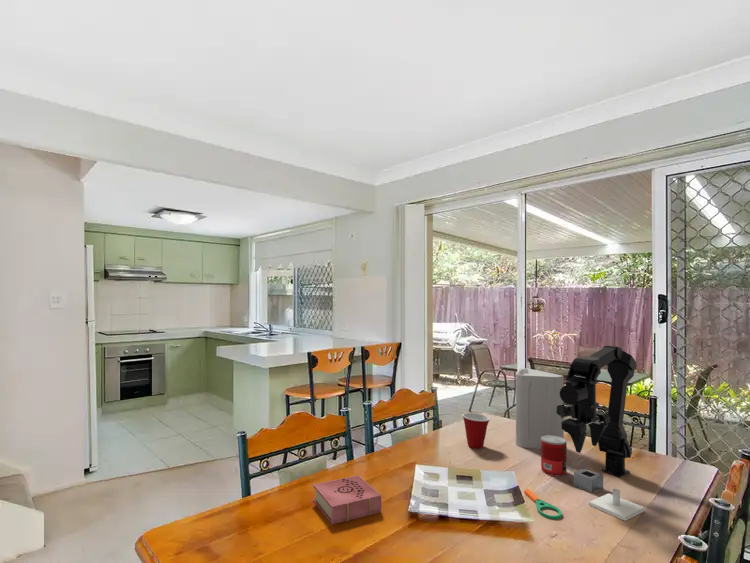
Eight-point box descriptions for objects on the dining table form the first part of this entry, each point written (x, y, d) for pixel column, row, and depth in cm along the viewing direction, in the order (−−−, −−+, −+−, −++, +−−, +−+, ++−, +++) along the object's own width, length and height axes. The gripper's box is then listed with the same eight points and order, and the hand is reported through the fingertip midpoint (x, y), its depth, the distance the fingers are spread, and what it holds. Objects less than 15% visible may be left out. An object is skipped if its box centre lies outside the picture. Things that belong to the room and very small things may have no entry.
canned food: (568, 477, 143) (568, 443, 143) (543, 475, 145) (543, 441, 145) (563, 468, 150) (563, 436, 151) (539, 466, 152) (539, 434, 152)
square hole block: (584, 481, 140) (584, 468, 140) (603, 488, 135) (603, 475, 135) (573, 485, 137) (573, 472, 137) (592, 493, 132) (592, 479, 132)
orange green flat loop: (566, 520, 117) (566, 513, 117) (546, 521, 116) (546, 515, 116) (536, 494, 132) (536, 488, 132) (517, 495, 131) (517, 489, 131)
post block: (608, 496, 130) (608, 479, 130) (644, 511, 121) (644, 492, 121) (589, 505, 124) (589, 487, 124) (625, 521, 116) (625, 501, 116)
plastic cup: (496, 449, 168) (496, 418, 168) (472, 452, 164) (472, 420, 164) (479, 440, 178) (479, 410, 178) (456, 443, 174) (456, 413, 174)
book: (333, 527, 112) (333, 507, 112) (313, 501, 125) (313, 484, 125) (382, 514, 118) (382, 496, 119) (358, 491, 132) (358, 475, 132)
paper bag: (500, 438, 180) (501, 370, 181) (527, 433, 187) (527, 368, 188) (537, 454, 163) (537, 379, 164) (564, 448, 170) (564, 376, 171)
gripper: (577, 389, 148) (577, 435, 148) (545, 398, 138) (545, 448, 137) (610, 396, 139) (611, 445, 139) (579, 406, 128) (579, 459, 128)
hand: (586, 449), depth 136 cm, fingers open, 9 cm apart
